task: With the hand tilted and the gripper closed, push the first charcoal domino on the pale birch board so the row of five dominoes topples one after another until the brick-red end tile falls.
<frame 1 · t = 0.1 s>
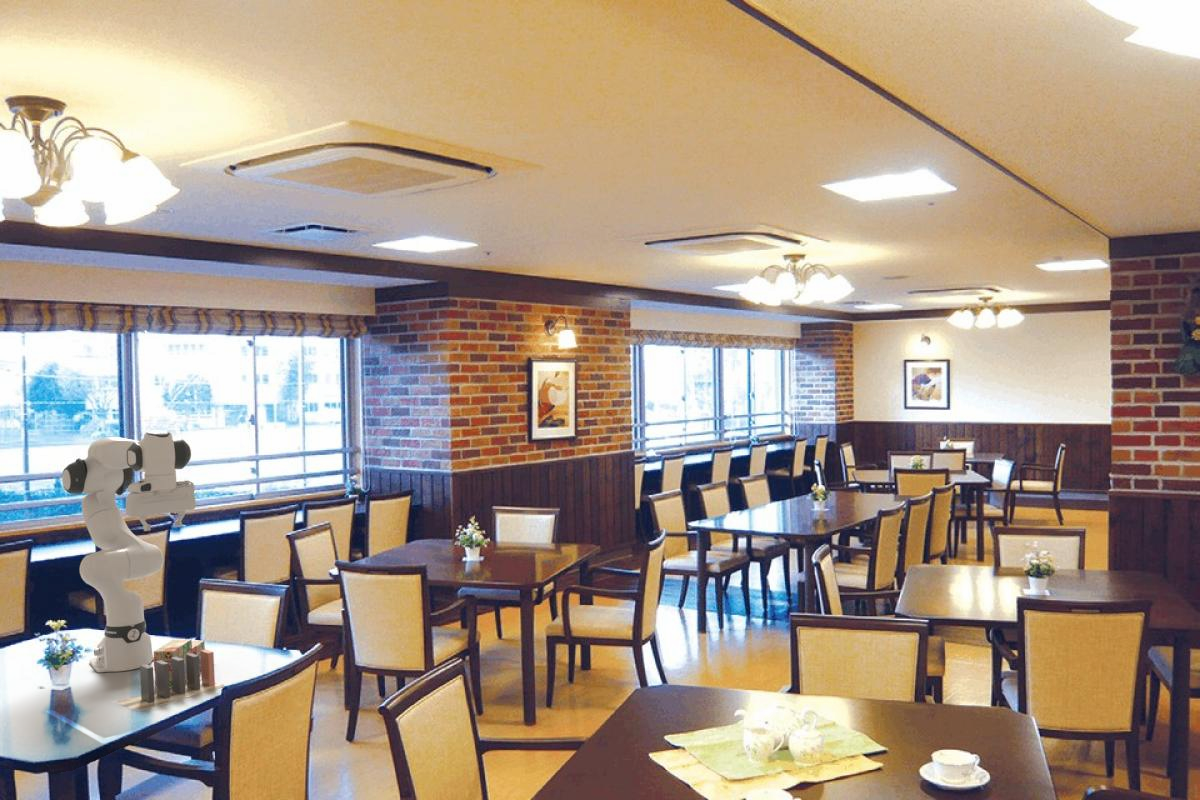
hand: (162, 528, 295), 48 cm above the table, tool pointing down, fingers open, 8 cm apart
domino 3: (178, 692, 284), point 1 cm above the table, touching domino board
domino 2: (163, 696, 281), point 1 cm above the table, touching domino board
domino 4: (193, 688, 287), point 1 cm above the table, touching domino board
domino 1: (148, 700, 277), point 1 cm above the table, touching domino board
domino board: (172, 698, 282), on the table
stack of blocks: (181, 680, 300), on the table
domino 5: (208, 684, 291), point 1 cm above the table, touching domino board
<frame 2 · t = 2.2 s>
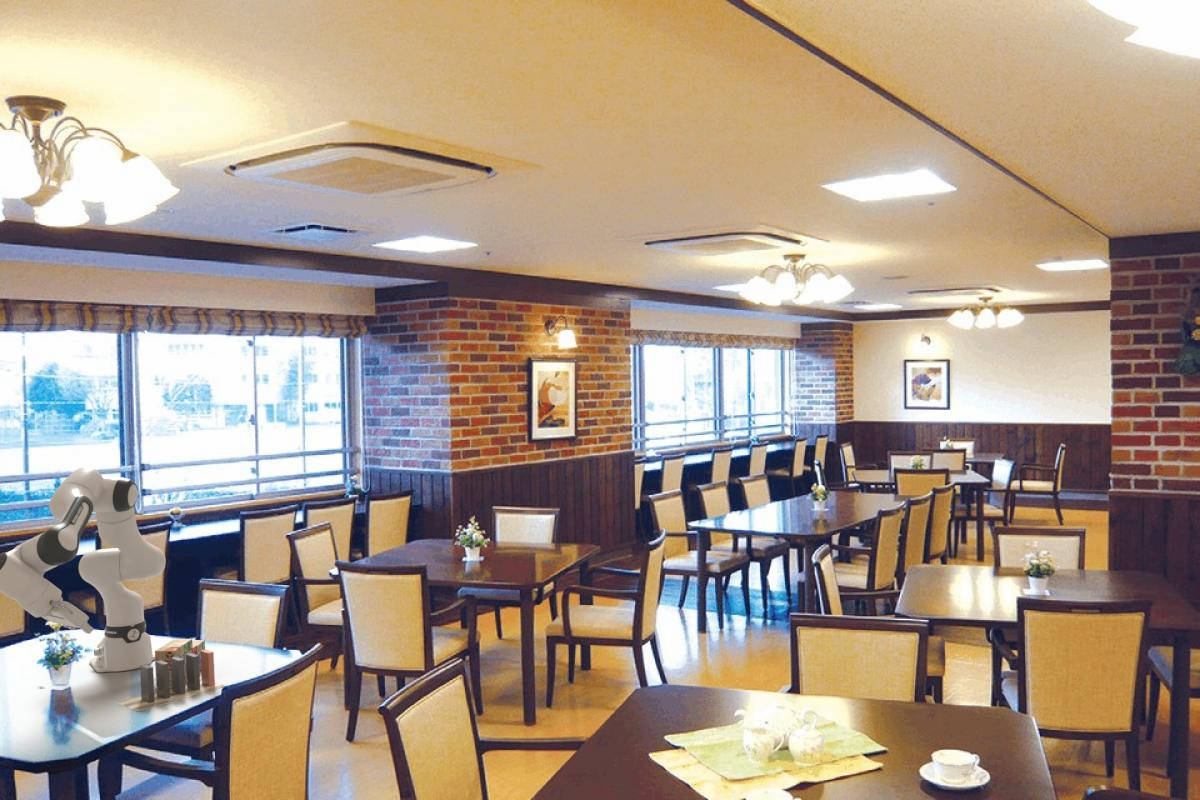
hand: (82, 629, 263), 26 cm above the table, tool tilted 45°, fingers open, 8 cm apart
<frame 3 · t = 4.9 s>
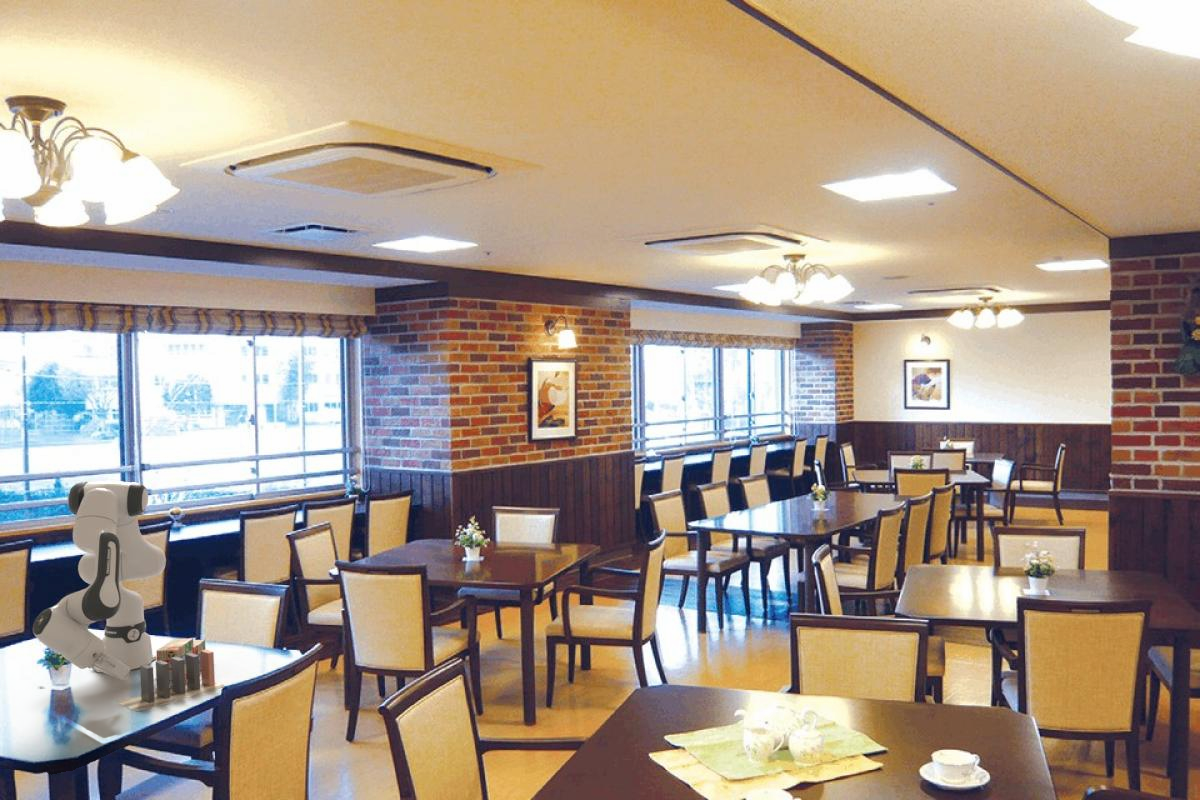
hand: (125, 677, 273), 9 cm above the table, tool tilted 45°, fingers closed
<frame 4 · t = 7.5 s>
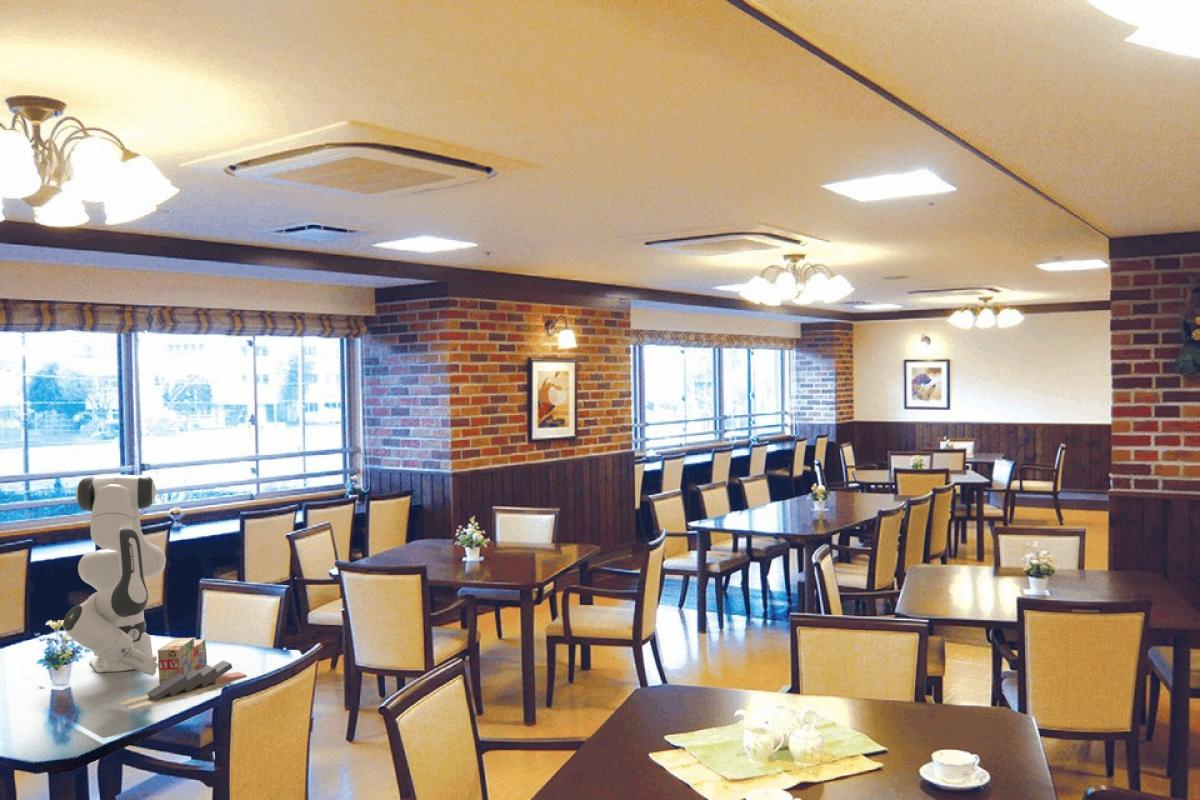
hand: (152, 672, 278), 9 cm above the table, tool tilted 45°, fingers closed
domino 3: (182, 688, 285), point 2 cm above the table, tilted 69°, touching domino 2, domino 4, domino board
domino 2: (167, 692, 281), point 2 cm above the table, tilted 69°, touching domino 1, domino 3, domino board
domino 4: (198, 683, 288), point 2 cm above the table, tilted 69°, touching domino 3, domino 5
domino 1: (151, 697, 278), point 2 cm above the table, tilted 69°, touching domino 2, domino board
domino 5: (211, 680, 291), point 2 cm above the table, tilted 98°, touching domino 4, domino board
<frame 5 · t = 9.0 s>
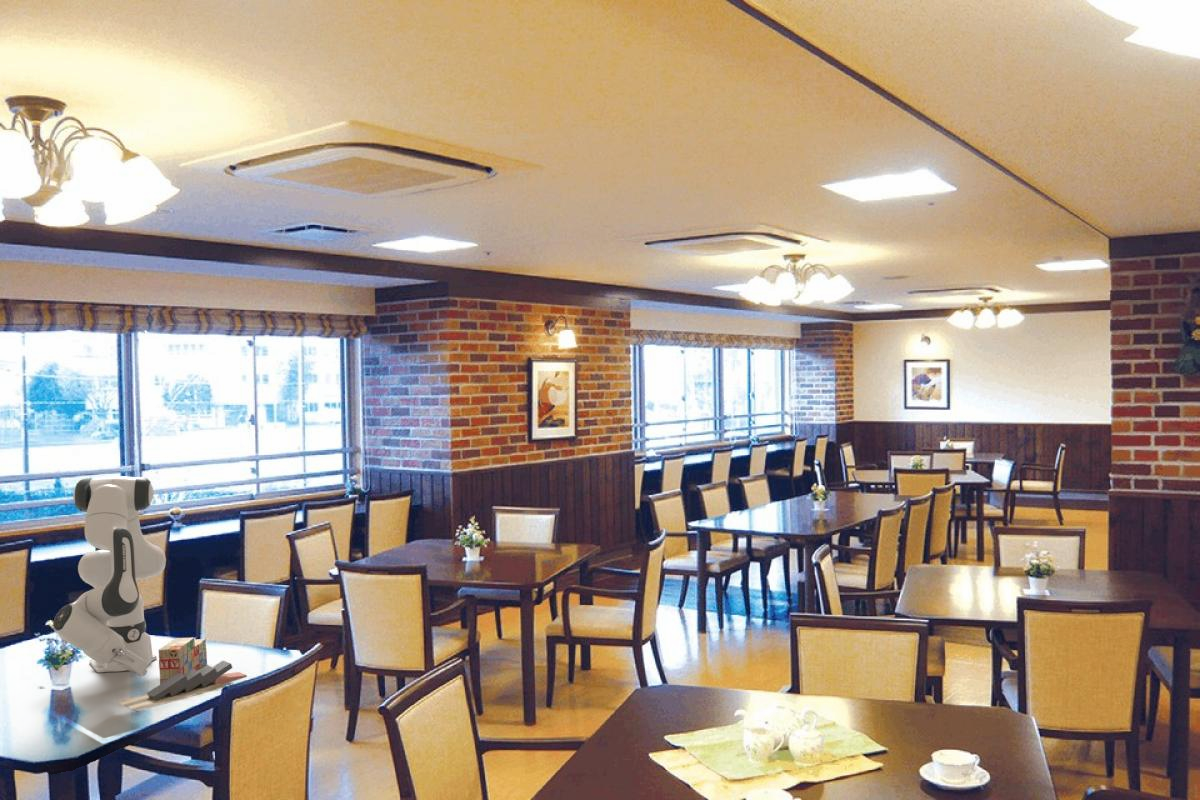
hand: (143, 673, 276), 10 cm above the table, tool tilted 45°, fingers closed
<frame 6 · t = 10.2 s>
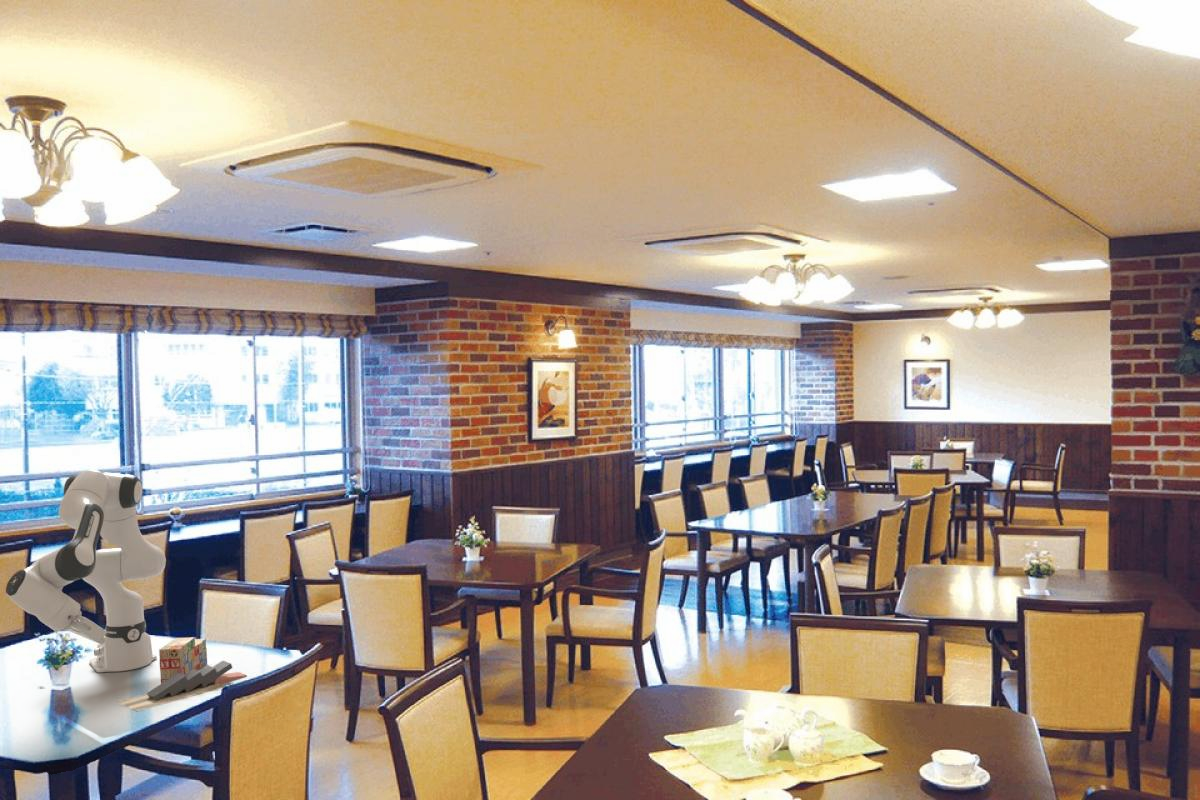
hand: (102, 641, 268), 21 cm above the table, tool tilted 45°, fingers closed
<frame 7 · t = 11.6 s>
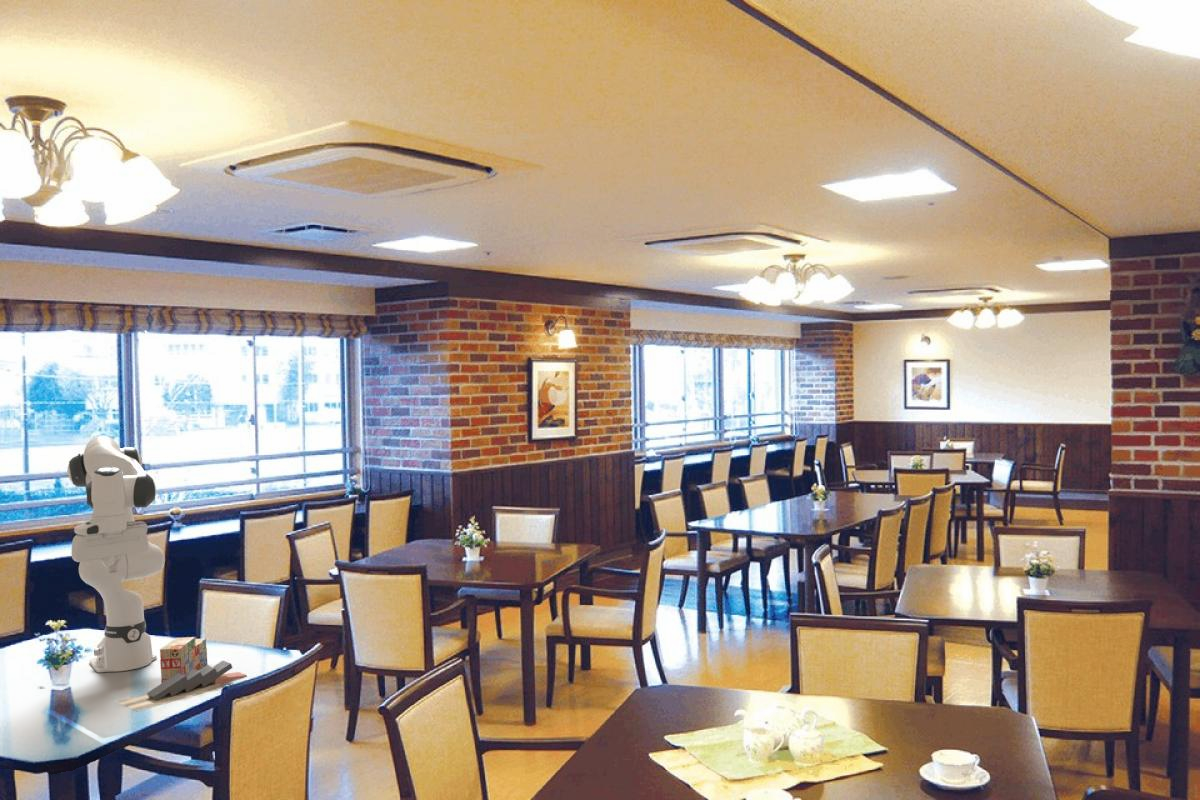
hand: (112, 572, 277), 39 cm above the table, tool pointing down, fingers closed
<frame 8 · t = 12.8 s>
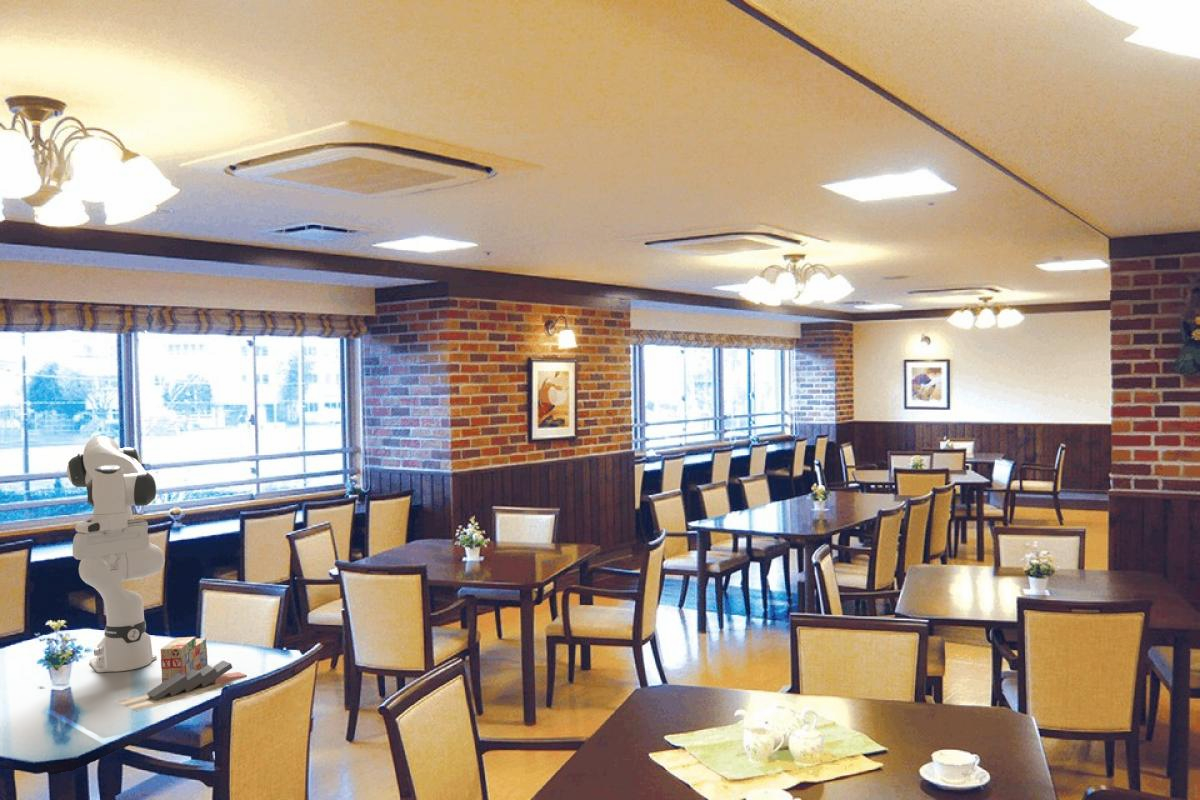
hand: (113, 570, 277), 39 cm above the table, tool pointing down, fingers closed
at the end: domino 5 tilted 98°; domino 1 tilted 69°; stack of blocks moved 2.9 cm from its start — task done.
